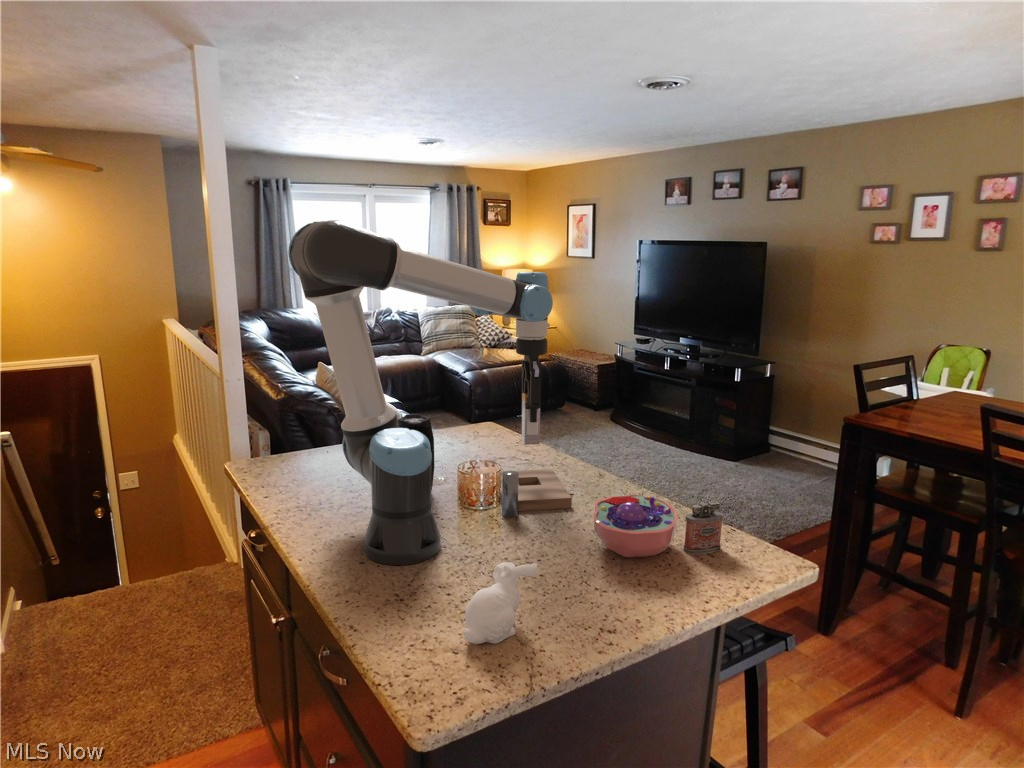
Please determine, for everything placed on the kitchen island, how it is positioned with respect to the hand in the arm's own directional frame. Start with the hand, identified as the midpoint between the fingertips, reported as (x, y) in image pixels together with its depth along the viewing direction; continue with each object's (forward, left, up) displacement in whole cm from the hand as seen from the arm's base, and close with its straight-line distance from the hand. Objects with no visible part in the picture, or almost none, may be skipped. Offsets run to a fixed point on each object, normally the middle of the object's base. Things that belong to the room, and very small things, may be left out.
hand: (530, 431), depth 154 cm
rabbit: (-57, +16, -16) cm, 61 cm away
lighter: (-36, -29, -16) cm, 49 cm away
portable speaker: (+1, +28, -16) cm, 32 cm away
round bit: (-14, +7, -15) cm, 22 cm away
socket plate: (-2, 0, -15) cm, 16 cm away
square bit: (0, 0, -3) cm, 3 cm away
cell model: (-34, -15, -16) cm, 40 cm away
